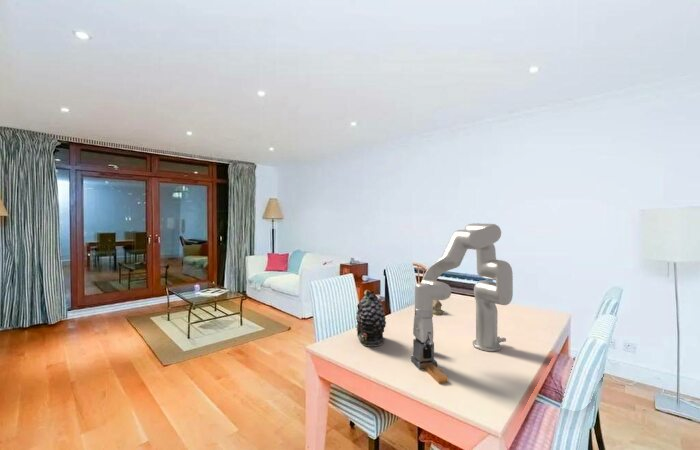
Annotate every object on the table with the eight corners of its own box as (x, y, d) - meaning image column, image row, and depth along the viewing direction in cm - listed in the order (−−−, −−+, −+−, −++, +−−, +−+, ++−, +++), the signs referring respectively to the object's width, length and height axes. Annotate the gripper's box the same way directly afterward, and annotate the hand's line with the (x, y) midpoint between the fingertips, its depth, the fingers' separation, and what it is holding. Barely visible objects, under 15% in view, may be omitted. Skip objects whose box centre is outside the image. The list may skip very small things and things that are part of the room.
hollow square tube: (426, 353, 140) (426, 337, 140) (434, 360, 134) (434, 343, 133) (413, 355, 138) (413, 339, 138) (419, 361, 132) (419, 344, 132)
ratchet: (452, 381, 121) (452, 362, 121) (433, 384, 120) (433, 364, 119) (427, 359, 141) (427, 342, 141) (411, 361, 139) (411, 344, 139)
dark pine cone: (351, 334, 171) (350, 288, 171) (377, 332, 175) (377, 286, 174) (362, 350, 151) (361, 297, 151) (392, 346, 155) (391, 295, 154)
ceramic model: (421, 310, 217) (421, 295, 217) (435, 308, 221) (435, 293, 221) (433, 315, 204) (433, 300, 204) (448, 313, 208) (448, 298, 207)
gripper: (407, 307, 143) (407, 347, 143) (425, 319, 126) (424, 364, 127) (422, 306, 145) (422, 346, 145) (442, 318, 128) (442, 362, 128)
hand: (423, 354), depth 136 cm, fingers closed on hollow square tube, 6 cm apart
